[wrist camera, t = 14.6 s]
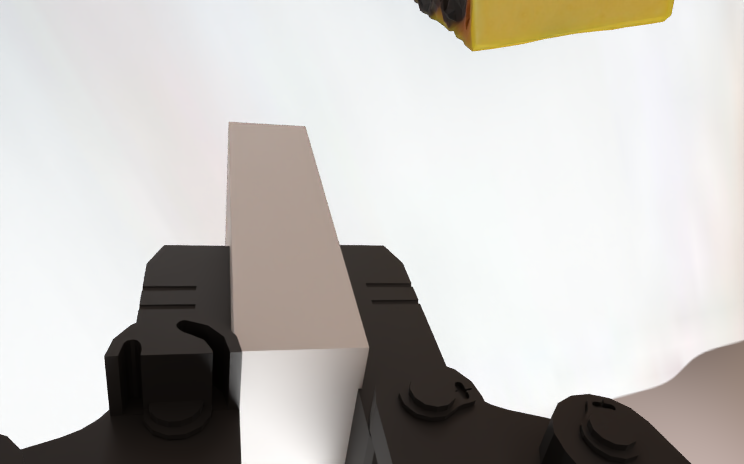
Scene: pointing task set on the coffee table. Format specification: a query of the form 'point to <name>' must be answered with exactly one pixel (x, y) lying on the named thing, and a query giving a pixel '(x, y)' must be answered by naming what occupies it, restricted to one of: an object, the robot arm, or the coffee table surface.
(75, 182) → the coffee table surface
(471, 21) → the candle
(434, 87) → the coffee table surface
